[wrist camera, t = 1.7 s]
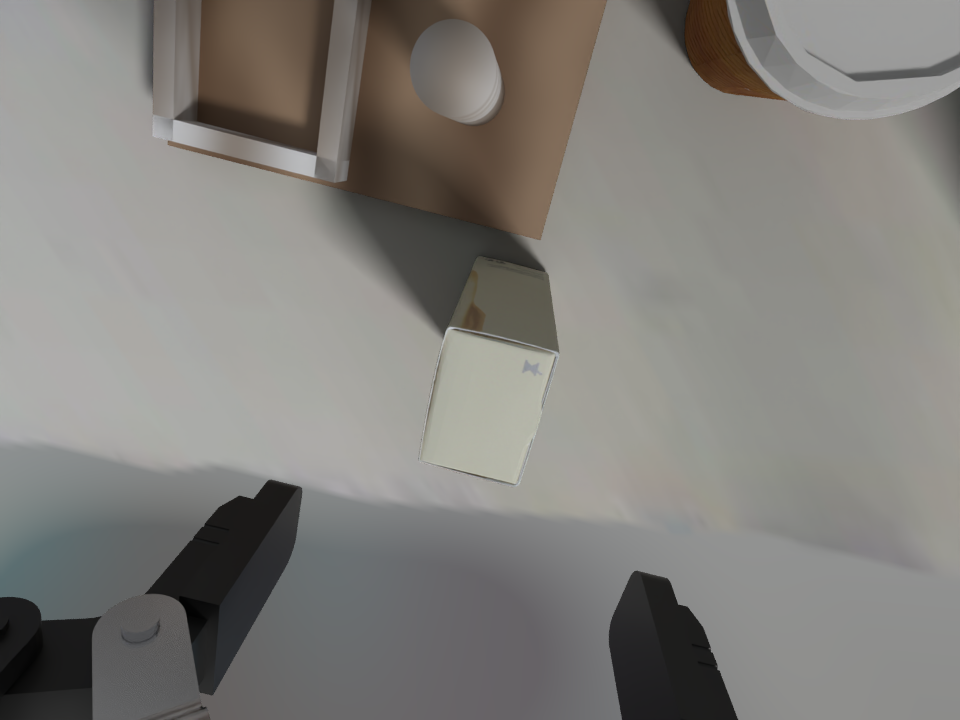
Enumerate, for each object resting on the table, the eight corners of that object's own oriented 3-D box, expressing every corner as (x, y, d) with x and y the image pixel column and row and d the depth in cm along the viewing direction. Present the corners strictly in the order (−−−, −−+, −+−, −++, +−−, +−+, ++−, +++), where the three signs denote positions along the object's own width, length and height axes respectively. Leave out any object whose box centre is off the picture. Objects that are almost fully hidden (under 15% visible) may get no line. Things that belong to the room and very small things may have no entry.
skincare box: (476, 253, 30) (445, 314, 19) (550, 271, 30) (565, 344, 19) (452, 356, 33) (412, 466, 21) (521, 374, 33) (519, 492, 22)
